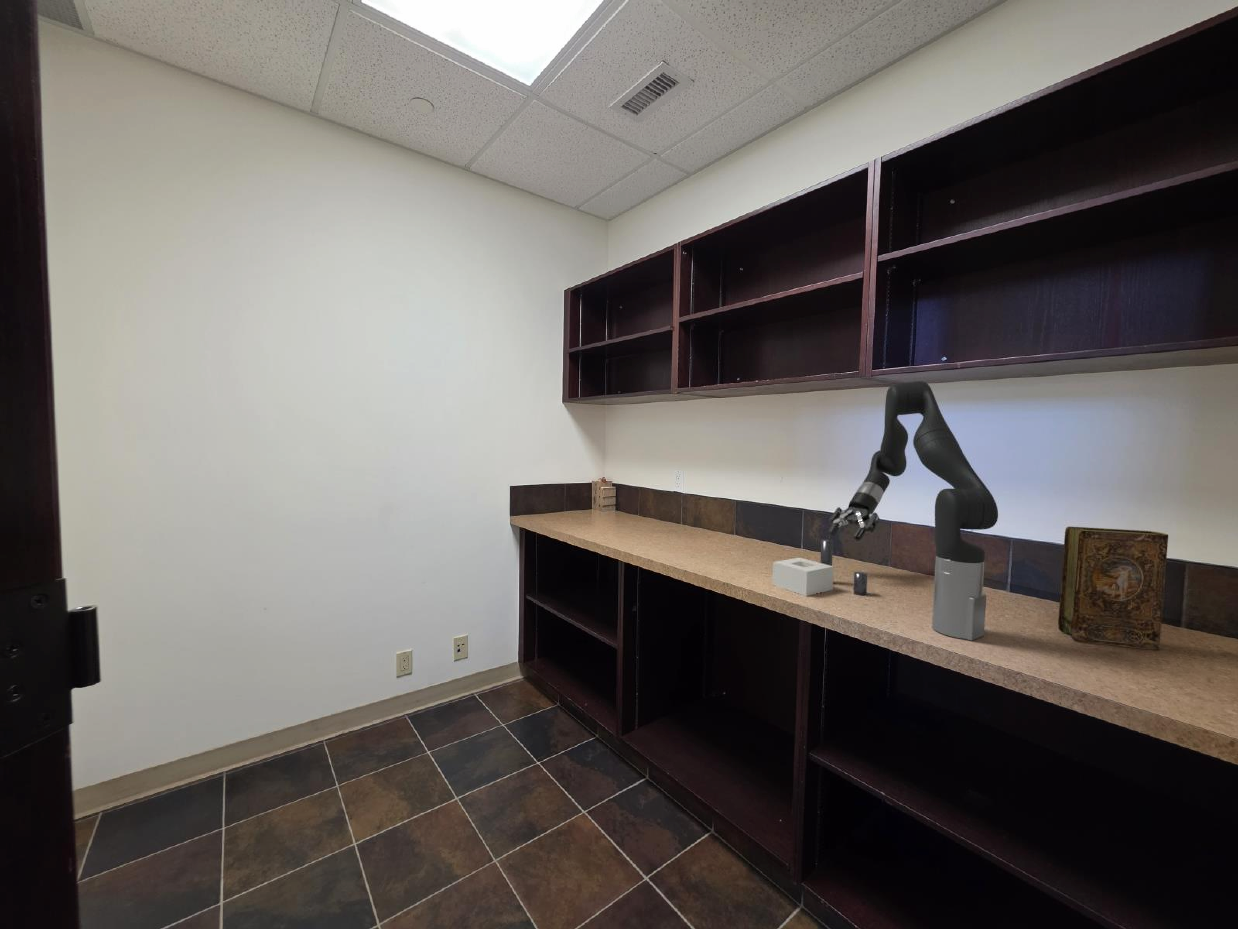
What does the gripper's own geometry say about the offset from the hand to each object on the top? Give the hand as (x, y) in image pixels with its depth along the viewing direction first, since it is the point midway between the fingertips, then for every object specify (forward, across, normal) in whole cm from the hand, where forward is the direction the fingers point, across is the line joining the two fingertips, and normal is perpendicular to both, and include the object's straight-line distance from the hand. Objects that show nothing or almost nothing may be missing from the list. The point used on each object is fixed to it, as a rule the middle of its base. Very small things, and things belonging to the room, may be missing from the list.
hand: (843, 536), depth 156 cm
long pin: (+15, 0, +4) cm, 16 cm away
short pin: (+16, +12, +3) cm, 20 cm away
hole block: (+23, 0, -4) cm, 23 cm away
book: (+3, +60, +16) cm, 62 cm away
